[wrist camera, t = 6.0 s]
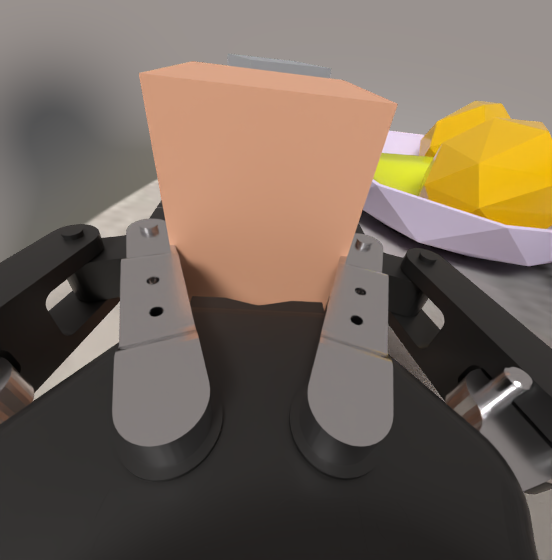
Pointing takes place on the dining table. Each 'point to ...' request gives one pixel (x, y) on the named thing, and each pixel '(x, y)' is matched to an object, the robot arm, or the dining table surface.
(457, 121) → the fruit bowl
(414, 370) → the dining table surface
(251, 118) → the terracotta block
